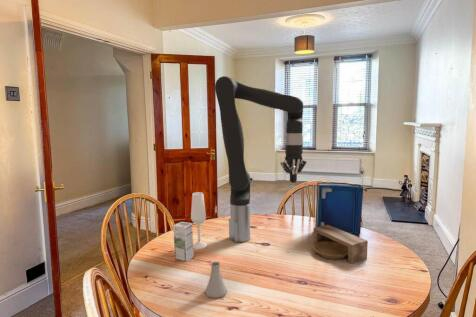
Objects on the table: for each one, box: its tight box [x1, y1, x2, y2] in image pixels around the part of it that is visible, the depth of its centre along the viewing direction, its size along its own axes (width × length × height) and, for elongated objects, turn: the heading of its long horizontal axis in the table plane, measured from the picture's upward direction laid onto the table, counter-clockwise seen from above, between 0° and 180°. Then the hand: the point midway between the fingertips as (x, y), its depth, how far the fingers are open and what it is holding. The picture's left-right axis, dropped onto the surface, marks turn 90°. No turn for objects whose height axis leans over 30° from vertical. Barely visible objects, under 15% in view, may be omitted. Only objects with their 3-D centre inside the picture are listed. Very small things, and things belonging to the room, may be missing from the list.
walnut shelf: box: [312, 225, 369, 264], centre depth 131 cm, size 8×22×8 cm, turn 28°
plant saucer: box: [312, 241, 348, 260], centre depth 130 cm, size 15×15×3 cm
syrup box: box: [173, 221, 194, 262], centre depth 126 cm, size 6×6×14 cm
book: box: [314, 181, 364, 236], centre depth 151 cm, size 22×7×25 cm, turn 84°
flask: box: [204, 261, 228, 299], centre depth 101 cm, size 7×7×10 cm
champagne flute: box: [190, 191, 208, 250], centre depth 138 cm, size 7×7×24 cm
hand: (293, 182), depth 138 cm, fingers closed
